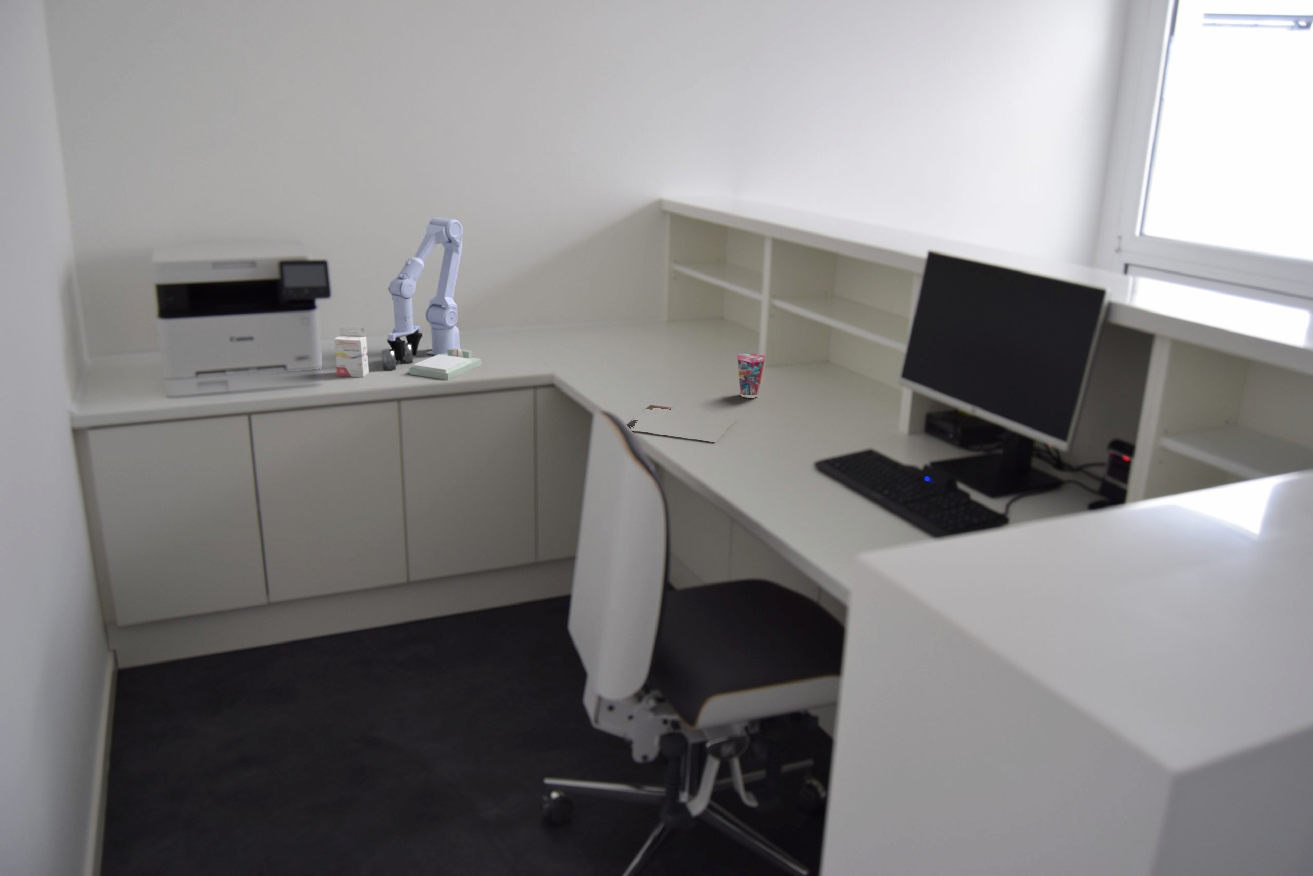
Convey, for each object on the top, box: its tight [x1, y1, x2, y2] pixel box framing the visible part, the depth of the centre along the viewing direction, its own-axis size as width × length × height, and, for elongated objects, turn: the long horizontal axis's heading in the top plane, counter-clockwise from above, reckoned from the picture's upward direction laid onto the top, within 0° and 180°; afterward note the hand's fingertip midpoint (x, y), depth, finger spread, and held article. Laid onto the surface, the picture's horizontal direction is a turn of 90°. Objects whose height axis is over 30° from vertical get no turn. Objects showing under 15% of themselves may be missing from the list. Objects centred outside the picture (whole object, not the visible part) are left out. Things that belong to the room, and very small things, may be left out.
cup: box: [736, 352, 767, 395], centre depth 292 cm, size 9×8×12 cm
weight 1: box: [381, 348, 397, 372], centre depth 312 cm, size 4×4×6 cm
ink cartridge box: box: [333, 325, 370, 378], centre depth 304 cm, size 9×5×15 cm, turn 84°
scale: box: [408, 348, 482, 381], centre depth 313 cm, size 19×14×5 cm
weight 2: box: [399, 342, 414, 365], centre depth 320 cm, size 4×4×6 cm
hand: (406, 357), depth 320 cm, fingers open, 7 cm apart
